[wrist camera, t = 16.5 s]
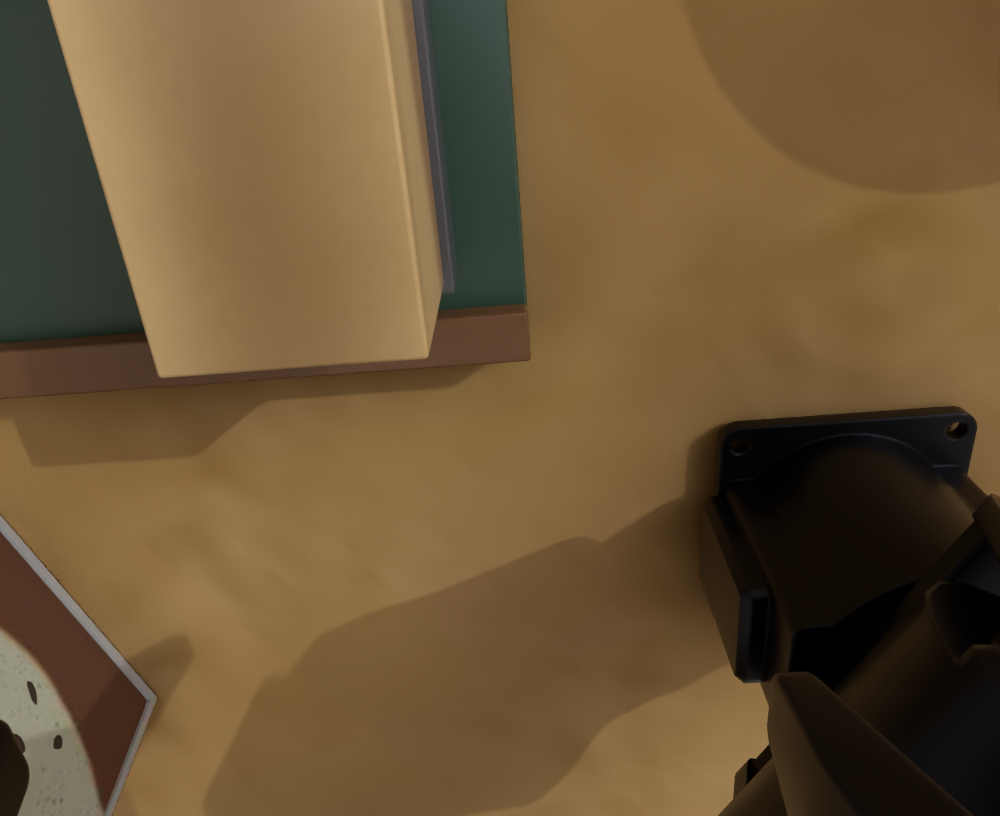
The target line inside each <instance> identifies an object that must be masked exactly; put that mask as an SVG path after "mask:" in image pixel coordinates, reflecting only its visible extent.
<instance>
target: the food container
mask: <svg viewBox="0 0 1000 816" xmlns="http://www.w3.org/2000/svg"><path fill="white" fill-rule="evenodd" d="M156 701H157V696H156V695H155V694H154V693H153V692H152V691H151V689H150V688H149V687H148V686H147V685H146V684H145V683H144V681H143V680H142V679H141V678H140V677H139V676H138V674H137V673H136V672H135V671H134V670H133V669H132V667H131V666H130V665H129V664H128V663H127V662H126V660H125V659H124V658H123V657H122V656H121V655H120V654H119V652H118V651H117V650H116V649H115V648H114V647H113V645H112V644H111V643H110V642H109V641H108V640H107V638H106V637H105V636H104V635H103V634H102V633H101V631H100V630H99V629H98V628H97V627H96V626H95V625H94V623H93V622H92V621H91V620H90V619H89V618H88V616H87V615H86V614H85V613H84V612H83V611H82V609H81V608H80V607H79V606H78V605H77V604H76V602H75V601H74V600H73V599H72V598H71V597H70V596H69V594H68V593H67V592H66V591H65V590H64V589H63V587H62V586H61V585H60V584H59V583H58V582H57V580H56V579H55V578H54V577H53V576H52V575H51V574H50V572H49V571H48V570H47V569H46V568H45V567H44V565H43V564H42V563H41V562H40V561H39V560H38V558H37V557H36V556H35V555H34V554H33V553H32V551H31V550H30V549H29V548H28V547H27V546H26V545H25V543H24V542H23V541H22V540H21V539H20V538H19V536H18V535H17V534H16V533H15V532H14V531H13V529H12V528H11V527H10V526H9V525H8V524H7V522H6V521H5V520H4V519H3V518H2V517H1V516H0V720H3V721H5V722H6V723H7V724H8V725H9V726H10V728H11V730H12V732H13V734H14V736H15V738H16V740H17V742H18V744H19V746H20V748H21V750H22V753H23V755H24V757H25V759H26V761H27V763H28V766H29V771H30V776H29V784H28V788H27V791H26V794H25V797H24V800H23V802H22V805H21V808H20V811H19V814H18V816H112V815H113V813H114V810H115V808H116V805H117V802H118V800H119V797H120V795H121V792H122V789H123V787H124V784H125V782H126V779H127V776H128V774H129V771H130V769H131V766H132V763H133V761H134V758H135V756H136V753H137V750H138V748H139V745H140V743H141V740H142V737H143V735H144V732H145V729H146V727H147V724H148V722H149V719H150V716H151V714H152V711H153V709H154V706H155V703H156Z"/></svg>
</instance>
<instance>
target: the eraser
mask: <svg viewBox="0 0 1000 816" xmlns="http://www.w3.org/2000/svg"><path fill="white" fill-rule="evenodd" d="M47 1H48V5H49V8H50V11H51V15H52V18H53V21H54V25H55V28H56V32H57V35H58V38H59V42H60V45H61V49H62V52H63V55H64V59H65V62H66V66H67V69H68V72H69V76H70V79H71V82H72V86H73V89H74V93H75V96H76V99H77V103H78V106H79V110H80V113H81V116H82V120H83V123H84V126H85V130H86V133H87V137H88V140H89V143H90V147H91V150H92V154H93V157H94V160H95V164H96V167H97V171H98V174H99V177H100V181H101V184H102V187H103V191H104V194H105V198H106V201H107V204H108V208H109V211H110V215H111V218H112V221H113V225H114V228H115V231H116V235H117V238H118V242H119V245H120V248H121V252H122V255H123V259H124V262H125V265H126V269H127V272H128V276H129V279H130V282H131V286H132V289H133V292H134V296H135V299H136V303H137V306H138V309H139V313H140V316H141V320H142V323H143V326H144V330H145V333H146V336H147V340H148V343H149V347H150V350H151V353H152V357H153V360H154V364H155V367H156V370H157V374H158V376H159V377H161V378H170V377H183V376H197V375H211V374H225V373H238V372H252V371H266V370H280V369H293V368H307V367H321V366H335V365H348V364H362V363H376V362H390V361H403V360H417V359H425V358H427V357H428V356H429V352H430V347H431V342H432V337H433V332H434V328H435V323H436V318H437V313H438V308H439V303H440V299H441V294H448V293H454V291H455V286H456V280H457V274H458V266H457V257H456V247H455V238H454V228H453V219H452V210H451V200H450V191H449V181H448V172H447V162H446V153H445V143H444V134H443V124H442V115H441V105H440V96H439V87H438V77H437V68H436V58H435V49H434V39H433V30H432V20H431V11H430V1H429V0H47Z"/></svg>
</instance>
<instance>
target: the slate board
mask: <svg viewBox="0 0 1000 816" xmlns="http://www.w3.org/2000/svg"><path fill="white" fill-rule="evenodd" d="M429 1H430V11H431V20H432V30H433V39H434V49H435V58H436V68H437V77H438V87H439V96H440V105H441V115H442V124H443V134H444V143H445V153H446V162H447V172H448V181H449V191H450V200H451V210H452V219H453V228H454V238H455V247H456V257H457V266H458V274H457V280H456V286H455V291H454V293H448V294H441V299H440V303H439V308H438V313H437V318H436V323H435V328H434V332H433V337H432V342H431V347H430V352H429V356H428V357H427V358H425V359H417V360H403V361H390V362H376V363H362V364H348V365H335V366H321V367H307V368H293V369H280V370H266V371H252V372H238V373H225V374H211V375H197V376H183V377H170V378H161V377H159V376H158V374H157V370H156V367H155V364H154V360H153V357H152V353H151V350H150V347H149V343H148V340H147V336H146V333H145V330H144V326H143V323H142V320H141V316H140V313H139V309H138V306H137V303H136V299H135V296H134V292H133V289H132V286H131V282H130V279H129V276H128V272H127V269H126V265H125V262H124V259H123V255H122V252H121V248H120V245H119V242H118V238H117V235H116V231H115V228H114V225H113V221H112V218H111V215H110V211H109V208H108V204H107V201H106V198H105V194H104V191H103V187H102V184H101V181H100V177H99V174H98V171H97V167H96V164H95V160H94V157H93V154H92V150H91V147H90V143H89V140H88V137H87V133H86V130H85V126H84V123H83V120H82V116H81V113H80V110H79V106H78V103H77V99H76V96H75V93H74V89H73V86H72V82H71V79H70V76H69V72H68V69H67V66H66V62H65V59H64V55H63V52H62V49H61V45H60V42H59V38H58V35H57V32H56V28H55V25H54V21H53V18H52V15H51V11H50V8H49V5H48V1H47V0H0V399H8V398H22V397H35V396H49V395H63V394H77V393H90V392H104V391H118V390H132V389H145V388H159V387H173V386H186V385H200V384H214V383H228V382H241V381H255V380H269V379H283V378H296V377H310V376H324V375H338V374H351V373H365V372H379V371H393V370H406V369H420V368H434V367H448V366H461V365H475V364H489V363H503V362H516V361H528V360H530V358H531V353H530V339H529V324H528V310H527V297H526V283H525V268H524V253H523V238H522V224H521V209H520V194H519V180H518V165H517V150H516V135H515V121H514V106H513V91H512V77H511V62H510V47H509V32H508V18H507V3H506V0H429Z"/></svg>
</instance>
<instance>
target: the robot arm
mask: <svg viewBox="0 0 1000 816" xmlns="http://www.w3.org/2000/svg"><path fill="white" fill-rule="evenodd" d="M956 422H959V424H958V426H957V428H955V429H954V430H953V431H950V432H947V429H948V427H949V426H950V425H952V424H953V423H956ZM976 431H977V423H976V421H975V419H974V418H973V417H972V416H971V415H970V414H969V413H968V412H967V411H965V410H964V409H962V408H960V407H954V406H950V407H936V408H921V409H907V410H892V411H878V412H863V413H849V414H835V415H820V416H806V417H791V418H777V419H762V420H748V421H736V422H732V423H729V424H727V425H726V426H724V427H723V428H722V429H721V431H720V432H719V434H718V438H717V452H716V474H715V495H714V496H709V497H708V498H707V500H706V501H705V502H704V503H703V504H702V521H701V547H700V578H701V581H702V584H703V587H704V590H705V592H706V595H707V598H708V601H709V604H710V608H711V611H712V614H713V617H714V618H715V621H716V624H717V627H718V630H719V633H720V635H721V638H722V641H723V644H724V647H725V650H726V653H727V656H728V658H729V661H730V664H731V667H732V670H733V673H734V675H735V676H736V677H737V678H738V679H739V680H741V681H742V682H743V683H758V682H760V684H761V687H762V689H763V692H764V695H765V697H766V700H767V703H768V705H769V712H768V722H767V730H768V739H769V745H768V746H767V747H766V748H765V749H764V751H763V752H762V753H761V754H760V755H759V756H758V757H757V758H756V759H752V758H751V759H749V760H748V761H747V762H746V763H745V764H744V765H743V766H742V767H741V768H740V770H739V771H738V772H737V773H736V775H735V782H734V797H733V800H732V801H731V802H730V803H729V804H728V805H727V807H726V808H725V809H724V810H723V811H722V812H721V813H720V814H719V815H718V816H1000V497H999V496H997V495H994V494H990V495H989V496H987V495H986V494H985V493H984V492H983V491H982V490H981V489H980V488H979V487H978V486H977V485H976V484H975V483H974V482H973V481H972V480H971V479H970V478H969V477H968V476H967V473H968V469H969V464H970V459H971V454H972V450H973V445H974V440H975V435H976ZM738 437H746V439H745V442H744V443H743V444H742V445H740V446H736V447H735V446H730V445H731V442H732V441H733V440H734V439H735V438H738ZM29 776H30V771H29V766H28V763H27V761H26V759H25V757H24V755H23V753H22V750H21V748H20V746H19V744H18V742H17V740H16V738H15V736H14V734H13V732H12V730H11V728H10V726H9V725H8V724H7V723H6V722H5V721H3V720H0V816H18V814H19V811H20V808H21V805H22V802H23V800H24V797H25V794H26V791H27V788H28V784H29Z"/></svg>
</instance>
